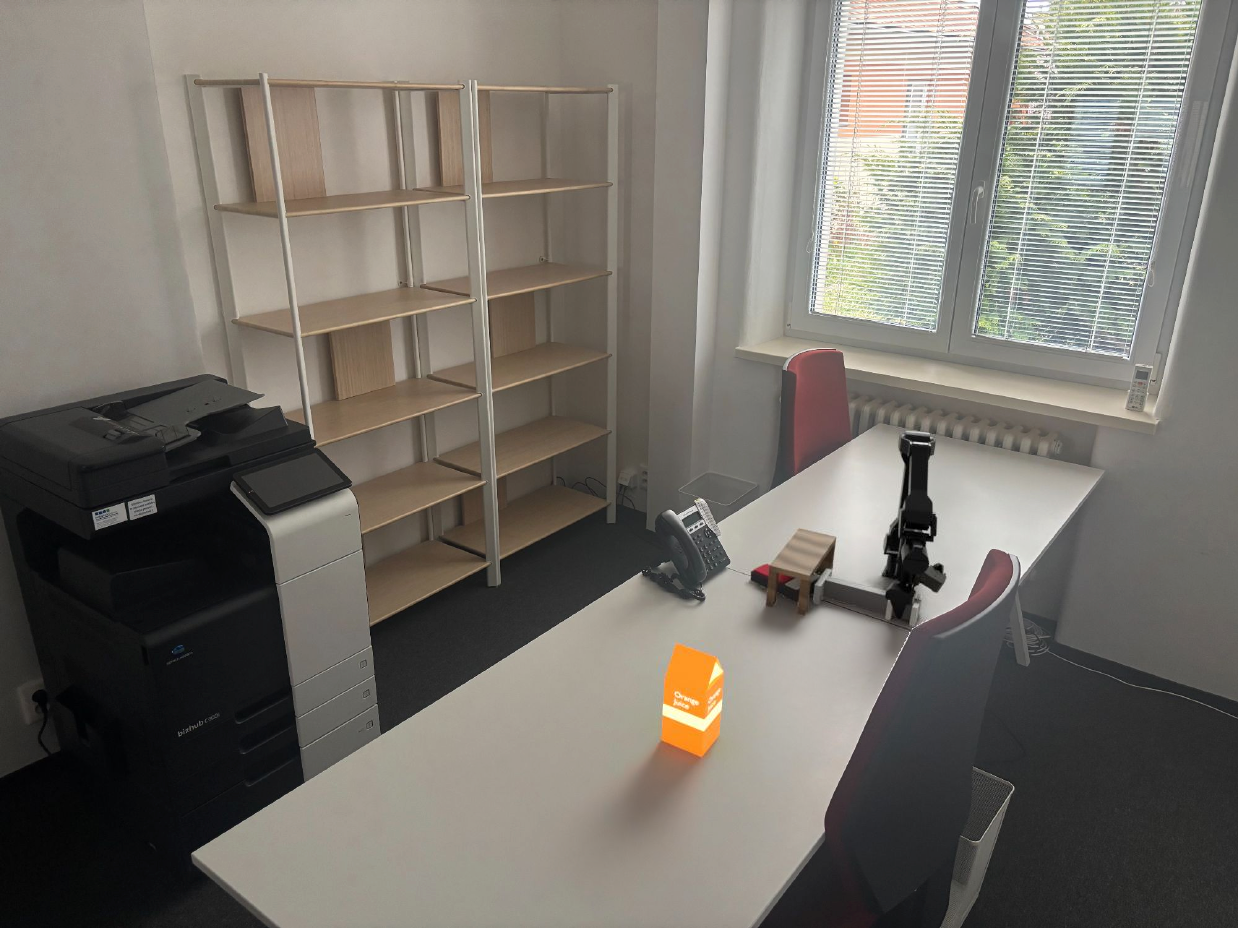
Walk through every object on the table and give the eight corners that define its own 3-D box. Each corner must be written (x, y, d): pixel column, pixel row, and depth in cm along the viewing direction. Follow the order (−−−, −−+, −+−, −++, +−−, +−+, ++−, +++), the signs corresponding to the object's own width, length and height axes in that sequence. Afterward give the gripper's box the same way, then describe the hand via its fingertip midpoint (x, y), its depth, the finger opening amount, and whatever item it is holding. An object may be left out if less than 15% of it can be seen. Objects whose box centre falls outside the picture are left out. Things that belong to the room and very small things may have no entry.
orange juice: (701, 757, 163) (707, 667, 156) (660, 740, 168) (664, 652, 160) (719, 734, 170) (726, 647, 162) (680, 718, 174) (684, 633, 167)
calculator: (776, 556, 233) (823, 574, 222) (776, 570, 234) (822, 589, 224) (750, 568, 226) (797, 588, 215) (749, 583, 227) (796, 603, 217)
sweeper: (824, 585, 225) (826, 568, 224) (921, 610, 215) (924, 592, 213) (812, 602, 217) (814, 584, 215) (913, 629, 206) (916, 611, 205)
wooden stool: (795, 564, 235) (799, 528, 231) (831, 574, 231) (836, 536, 227) (765, 604, 216) (769, 565, 212) (804, 615, 211) (809, 575, 207)
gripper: (939, 579, 195) (929, 639, 201) (952, 546, 210) (942, 603, 216) (889, 567, 200) (880, 626, 206) (905, 536, 215) (897, 591, 221)
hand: (901, 611), depth 212 cm, fingers open, 7 cm apart
